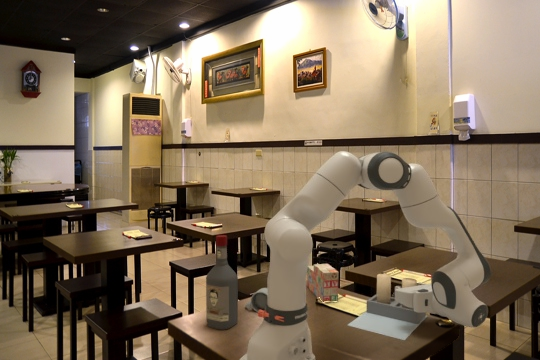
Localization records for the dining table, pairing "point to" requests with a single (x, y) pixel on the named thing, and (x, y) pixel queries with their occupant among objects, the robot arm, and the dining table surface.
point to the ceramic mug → (258, 300)
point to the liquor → (221, 290)
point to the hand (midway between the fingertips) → (407, 286)
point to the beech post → (408, 283)
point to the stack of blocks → (323, 281)
